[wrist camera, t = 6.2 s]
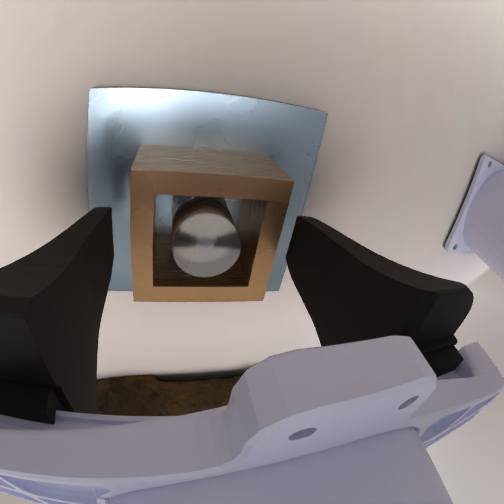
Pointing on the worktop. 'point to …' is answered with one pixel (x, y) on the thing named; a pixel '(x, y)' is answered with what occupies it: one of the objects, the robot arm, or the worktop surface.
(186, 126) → the piston plate
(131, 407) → the dark brown long piece
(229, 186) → the square wooden frame
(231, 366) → the worktop surface
